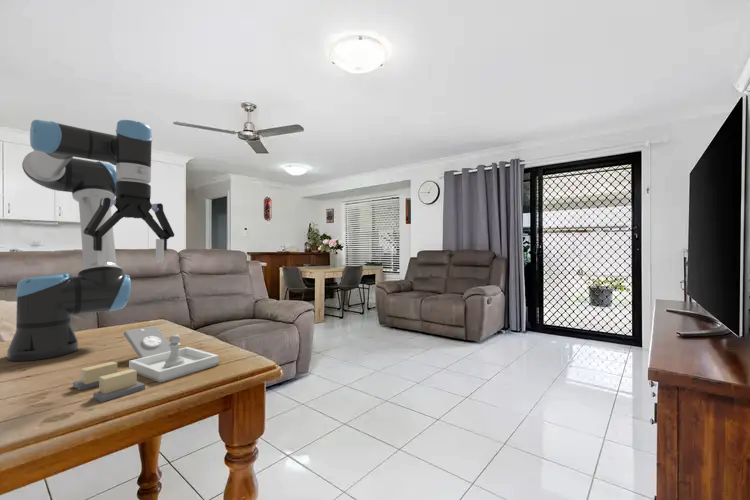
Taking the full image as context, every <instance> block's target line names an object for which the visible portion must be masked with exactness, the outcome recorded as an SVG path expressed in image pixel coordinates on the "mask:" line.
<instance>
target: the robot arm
mask: <svg viewBox="0 0 750 500" xmlns="http://www.w3.org/2000/svg"><path fill="white" fill-rule="evenodd" d="M29 131H30V132H29V144H30V147H31V148H32V149H33V151H30V152H29V153H27V154H26V155H25V156H24V158H23V160H22V164H21V166H22V170H23V172H24V174H25V175H26V176H27V177H28V178H29V179H30V180H31V181H32V182H34V183H36V184H38V185H40V186H41V187H44V188H47V189H50V190H54V191H57V192H66V193H71V194H72V195H71V196H72V199H73V200H74V201H76V203H78V207H79V220H80V221H79V222H80V234H81V236H80V237H81V249H82V263H83V267H82V268H80V270H78V272H77V275H78V276H72V274H71V273H70V272H61V273H51V274H49V273H48V274H42V275H36V276H30V277H25V278H23V279H21V280H19V281H18V282H17V286H16V294H15V298H16V316H15V317H16V325H15V326H16V330H15V333H14V335H13V336H12V339H11V342H10V344H9V347H8V349H7V352H6V355H7V357H6V360H8V361H13V362H25V361H26V362H27V361H28V362H29V361H37V360H43V359H49V358H50V359H51V358H55V357H60V356H64V355H67V354H71V353H73V352H76V351H78V350H79V341H78V338H77V335H76V334H75V331H74V328H73V327H72V322H71V319H72V318H71V317H72V316H74V315H75V316H76V315H83V314H94V313H102V312H108V313H109V312H111V311H112V312H113V311H118V310H122V309H123V308H125V307H126V305H127V304H128V301H129V299H130V294H131V286H132V285H131V284H132V282H131V281H132V279H131V278H130V275H129V274H126V273H125V274H124V271H123V268H122V267H121V266H119V265H118V264H117V256H116V249H115V248H116V246H115V237H114V235H115V234H114V228H113V227H114V226H115V225H116V224H117V223H118V222H119V221H120V220H122V219H124V218H125V219H129V218H130V219H131V218H132V219H142V220H143V221H144V222H145V223H146V224H147V225H148V227H149V228H150V229H151V230H152V232H154V234H155V235H156V236H157V237H158V238H157V239H156V238H155V263H159V264H162V263H164V261H165V260H164V259H165V254H164V253H165V251H167V250H168V248H167V247H168V239H170V238H173V237H175V233H174V231H173V229H172V227H171V224H170V222H169V219H168V218H167V216H166V214H165V211H164V206H163V203H161V202H160V203H151V196H152V195H151V194H152V192H151V191H152V186H151V185H150V184H149V183H151V181H152V180H151V179H152V142H153V137H152V129H151V127H150V126H149V125H148V124H146V123H144V122H140V121H136V120H132V119H130V120H129V119H120V120H119V121H117V123H116V129H115V133H116V134H111V133H106V132H101V131H96V130H91V129H86V128H82V127H77V126H73V125H67V124H62V123H58V122H55V121H52V120H51V121H48V120H43V119H34V120H32V122H31V123H30V128H29ZM113 206H114V207H115V209H116V211H115V212H114V213H112V207H113ZM151 210H152V211H153V212H154V215H155V217H156V219H157V220H158V222H157V220H155V219H154V216H153V215H152V214H151V213H150V211H151Z"/></svg>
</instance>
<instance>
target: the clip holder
mask: <svg viewBox="0 0 750 500" xmlns="http://www.w3.org/2000/svg"><path fill="white" fill-rule="evenodd" d="M80 376H81V377H80V380H77V381H73V382H72V388H74V389H76V390H79V391H84V390H87V389H91V388H94V387H97V386H98V391H95V392H93V394H92V396H93V399H95V400H97V401H99V402H100V403H103V402H106V401H110V400H114V399H117V398H120V397H123V396H126V395H129V394H133V393H136V392H139V391H142V390H146V384H145V383H143V382H140V381H138V378H137V377H138V374H137V371H136V370H133V369H129V368H128V369H125V370H121V371H118V362H115V361H108V362H105V363H104V362H103V363H99V364H96V365H92V366H87V367H82V368H81V370H80Z"/></svg>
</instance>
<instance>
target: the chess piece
mask: <svg viewBox="0 0 750 500" xmlns="http://www.w3.org/2000/svg"><path fill="white" fill-rule="evenodd" d="M180 341H181V335H179V334H175V333H174V334H172V335H170V336H169V340H168V342H169V343H170V344H169V346H170V348H171V353H170V356H169V358H168V359H167V360H166V361H165V364H164V366H165V367H167V368H171V367H174V366H178V365H181V364H184V363H185V362H184V358H182V357H181V356H180V354H179V349H180V345H181V343H180Z"/></svg>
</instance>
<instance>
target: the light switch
mask: <svg viewBox="0 0 750 500" xmlns="http://www.w3.org/2000/svg"><path fill="white" fill-rule="evenodd" d="M123 336H124V337H125V339H126V340H127V341H128V343H129V344H130V346H131V347H132V349H133V350H134V352H135V354H136V355H137V357H138V359H139V358H143V357H147V356H152V355H156V354H160V353H164V352H168V351H171V348H170V346H169V344H171V343H170V341H169V340H167V338H166V337H165V335H164V334H163V332H161V330H160V329H159V328H158V326H157V325H152V326H145V327H138V328H135V329H133V328H132V329H128V330H124V332H123Z"/></svg>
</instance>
